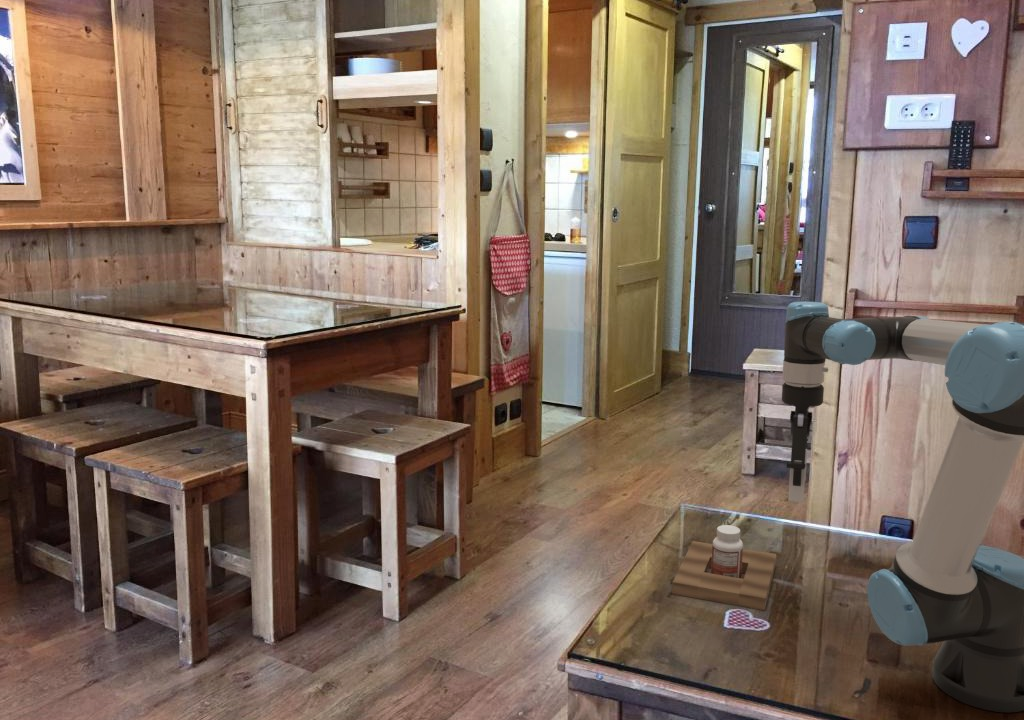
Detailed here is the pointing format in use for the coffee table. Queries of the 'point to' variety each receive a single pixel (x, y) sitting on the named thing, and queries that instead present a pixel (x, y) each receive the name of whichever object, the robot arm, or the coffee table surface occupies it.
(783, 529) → the coffee table surface
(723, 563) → the pill bottle
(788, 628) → the coffee table surface
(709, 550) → the square wooden frame
